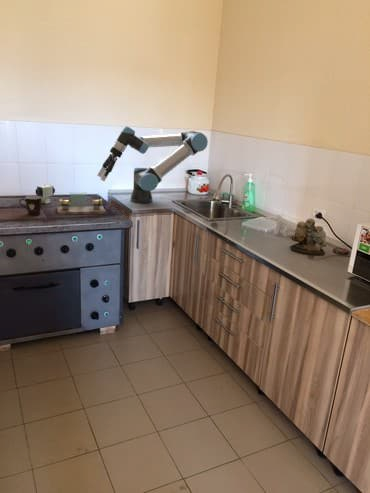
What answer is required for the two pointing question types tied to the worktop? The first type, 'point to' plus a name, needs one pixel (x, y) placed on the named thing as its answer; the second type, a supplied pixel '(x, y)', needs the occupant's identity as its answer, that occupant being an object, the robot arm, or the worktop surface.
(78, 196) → the coupling block
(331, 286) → the worktop surface
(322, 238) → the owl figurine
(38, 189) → the pneumatic valve
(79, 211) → the base board
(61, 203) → the pipe rig
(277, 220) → the toy dinosaur
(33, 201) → the coffee mug
